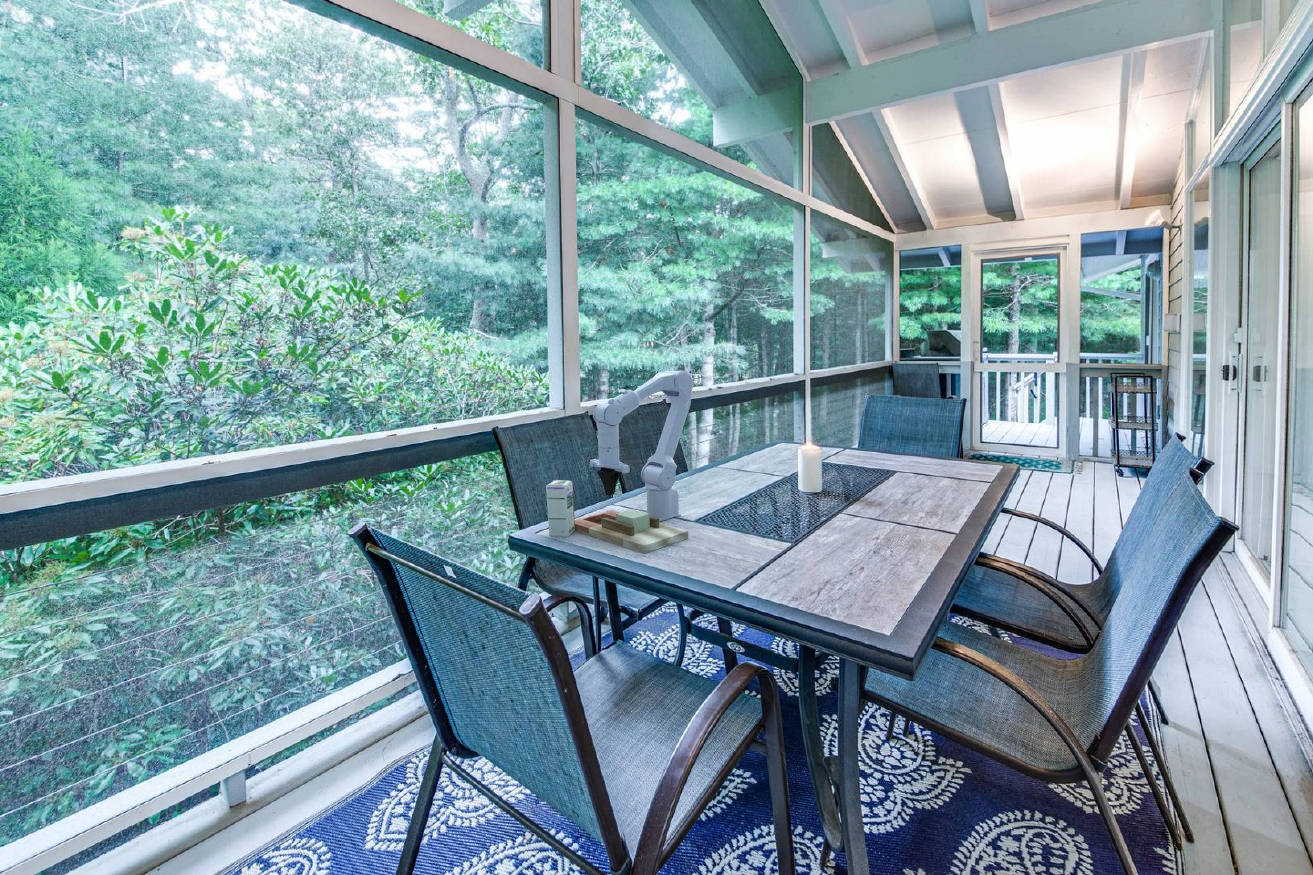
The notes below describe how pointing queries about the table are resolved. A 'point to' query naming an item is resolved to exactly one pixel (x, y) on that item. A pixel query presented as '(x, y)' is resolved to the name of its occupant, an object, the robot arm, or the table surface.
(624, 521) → the sage block
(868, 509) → the table surface
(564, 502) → the syrup box
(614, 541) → the trap track
